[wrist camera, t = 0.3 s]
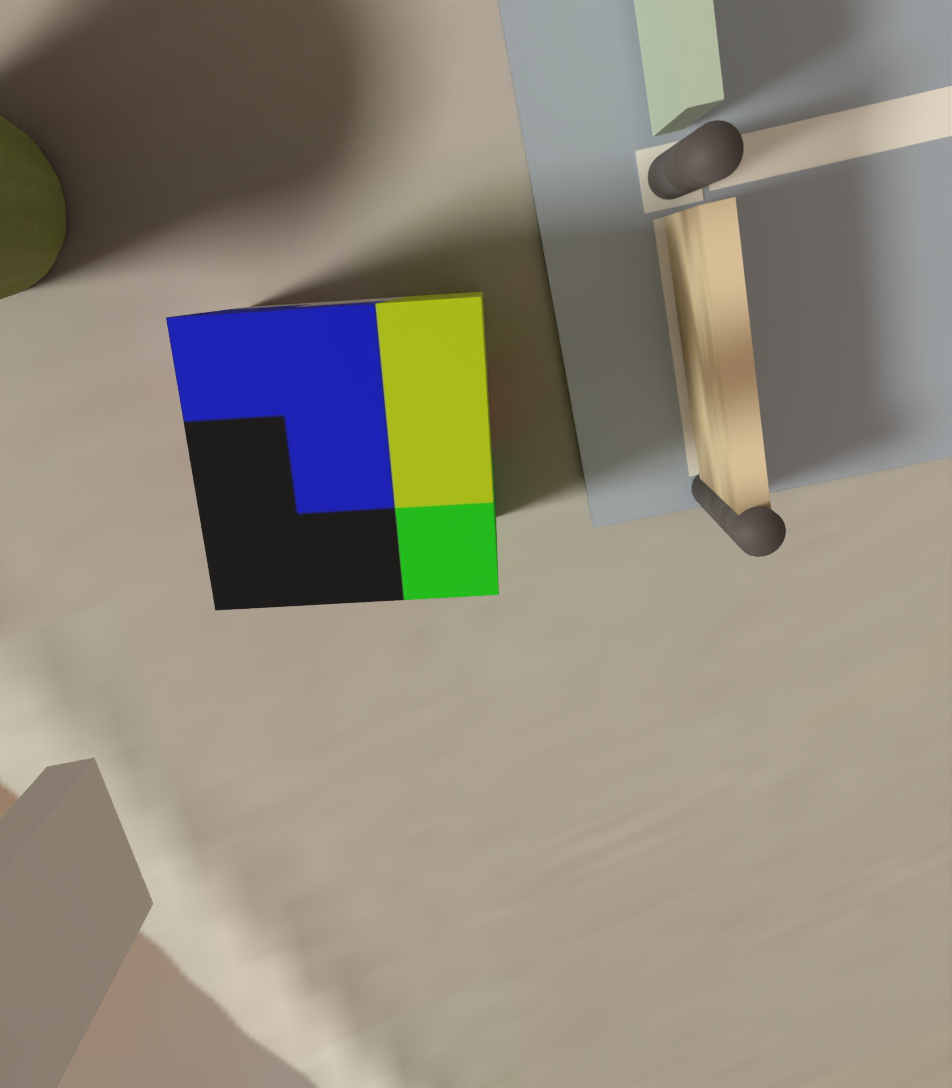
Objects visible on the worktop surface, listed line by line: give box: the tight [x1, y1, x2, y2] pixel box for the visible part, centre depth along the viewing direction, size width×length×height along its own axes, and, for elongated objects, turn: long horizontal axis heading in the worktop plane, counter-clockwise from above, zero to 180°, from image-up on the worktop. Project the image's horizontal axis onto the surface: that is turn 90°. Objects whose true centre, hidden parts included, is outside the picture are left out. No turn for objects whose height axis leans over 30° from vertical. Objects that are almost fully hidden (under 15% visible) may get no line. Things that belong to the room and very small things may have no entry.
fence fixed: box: [648, 120, 786, 557], centre depth 33 cm, size 15×2×8 cm, turn 12°
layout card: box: [498, 0, 952, 528], centre depth 34 cm, size 28×18×1 cm, turn 12°
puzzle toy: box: [166, 291, 499, 610], centre depth 33 cm, size 10×10×10 cm
